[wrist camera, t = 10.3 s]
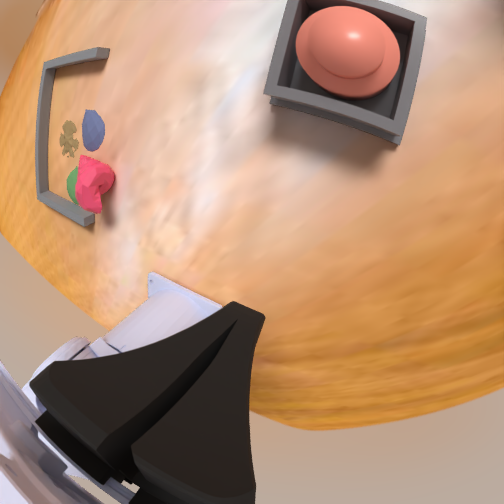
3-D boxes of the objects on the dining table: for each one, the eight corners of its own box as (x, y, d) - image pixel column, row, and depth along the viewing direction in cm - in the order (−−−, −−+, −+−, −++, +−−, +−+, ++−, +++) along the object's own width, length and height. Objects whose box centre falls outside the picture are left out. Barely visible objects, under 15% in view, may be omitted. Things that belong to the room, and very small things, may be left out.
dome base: (398, 145, 13) (406, 146, 11) (272, 104, 15) (254, 98, 13) (424, 33, 10) (434, 15, 7) (298, -1, 11) (286, -22, 9)
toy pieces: (128, 103, 19) (88, 105, 15) (123, 221, 24) (89, 238, 21) (62, 106, 22) (31, 111, 18) (62, 196, 27) (34, 208, 24)
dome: (384, 113, 12) (390, 107, 10) (295, 86, 13) (280, 75, 11) (401, 36, 10) (409, 16, 7) (314, 13, 11) (302, -10, 8)
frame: (94, 222, 26) (84, 226, 25) (45, 195, 28) (37, 199, 27) (109, 48, 17) (97, 47, 16) (53, 62, 20) (43, 62, 18)
